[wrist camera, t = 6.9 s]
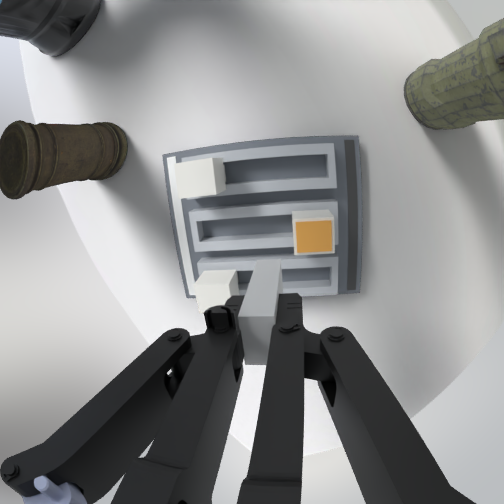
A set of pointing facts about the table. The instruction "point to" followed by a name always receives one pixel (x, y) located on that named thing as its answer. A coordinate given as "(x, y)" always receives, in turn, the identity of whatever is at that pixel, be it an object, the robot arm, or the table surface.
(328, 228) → the handle
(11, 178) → the container
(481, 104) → the thermos
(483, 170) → the table surface
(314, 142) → the panel
